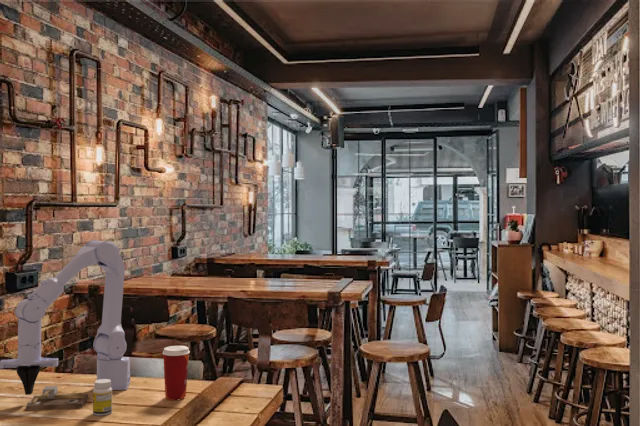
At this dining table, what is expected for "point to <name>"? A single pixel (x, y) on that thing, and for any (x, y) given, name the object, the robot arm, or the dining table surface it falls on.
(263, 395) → the dining table surface
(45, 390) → the sliding leg
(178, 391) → the paper cup
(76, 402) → the wooden mechanism board
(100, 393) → the supplement bottle
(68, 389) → the dining table surface
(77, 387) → the dining table surface
